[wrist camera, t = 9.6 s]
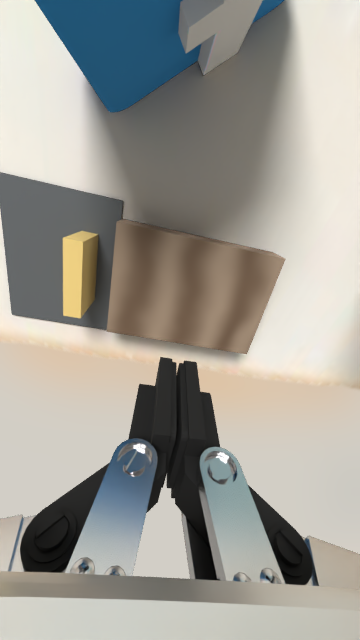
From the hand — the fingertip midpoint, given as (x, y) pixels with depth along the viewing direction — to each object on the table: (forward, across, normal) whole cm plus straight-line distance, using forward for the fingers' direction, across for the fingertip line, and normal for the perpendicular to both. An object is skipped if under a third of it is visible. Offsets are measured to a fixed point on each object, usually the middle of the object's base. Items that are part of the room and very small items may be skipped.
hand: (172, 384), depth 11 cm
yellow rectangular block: (+20, +10, +3) cm, 23 cm away
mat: (+23, +15, +3) cm, 28 cm away
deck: (+24, -3, +3) cm, 24 cm away
